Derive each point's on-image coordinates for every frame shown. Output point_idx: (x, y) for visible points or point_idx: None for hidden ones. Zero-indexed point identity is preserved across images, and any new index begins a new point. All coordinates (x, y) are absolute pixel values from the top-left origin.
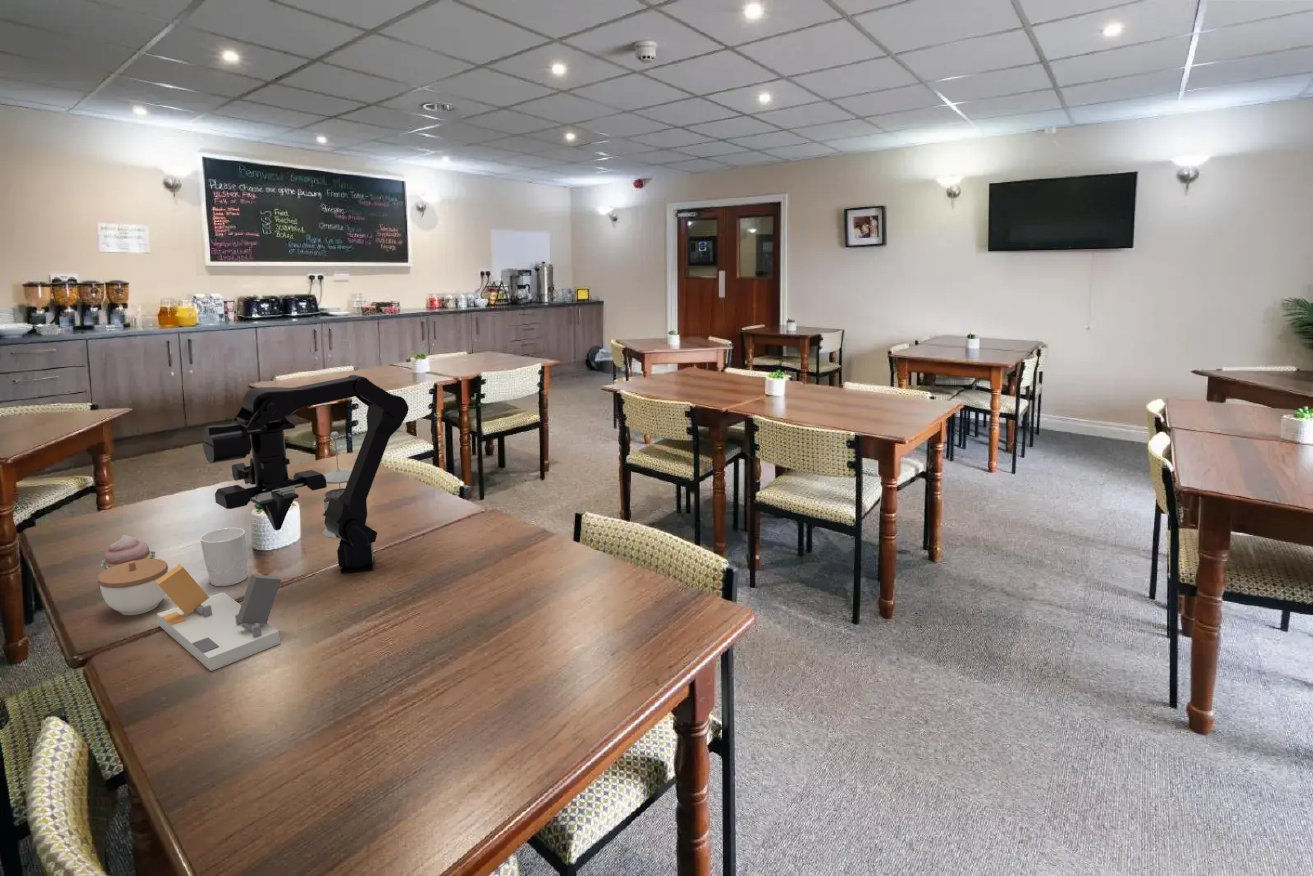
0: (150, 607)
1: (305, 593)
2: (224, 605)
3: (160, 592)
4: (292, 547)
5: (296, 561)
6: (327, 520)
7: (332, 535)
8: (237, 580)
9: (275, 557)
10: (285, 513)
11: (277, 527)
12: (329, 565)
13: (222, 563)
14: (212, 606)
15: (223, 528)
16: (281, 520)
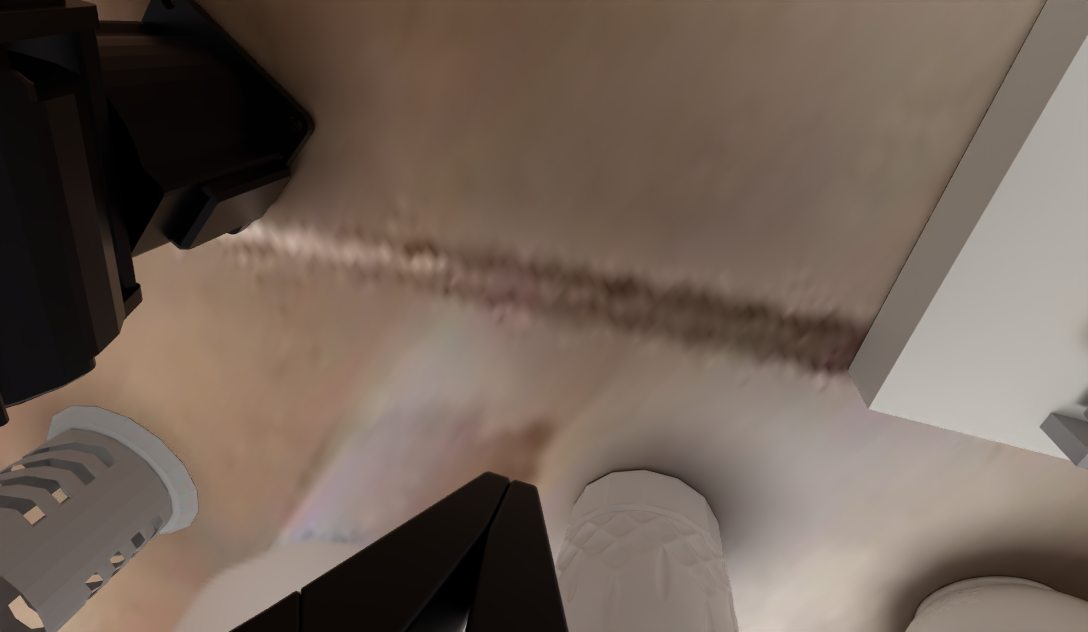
0: (1030, 586)
1: (575, 85)
2: (1040, 260)
3: (1035, 625)
4: (328, 522)
5: (384, 423)
6: (28, 347)
7: (174, 471)
8: (655, 480)
9: (416, 514)
10: (299, 618)
11: (516, 503)
12: (309, 265)
13: (711, 590)
14: (1069, 314)
15: None
16: (434, 546)
